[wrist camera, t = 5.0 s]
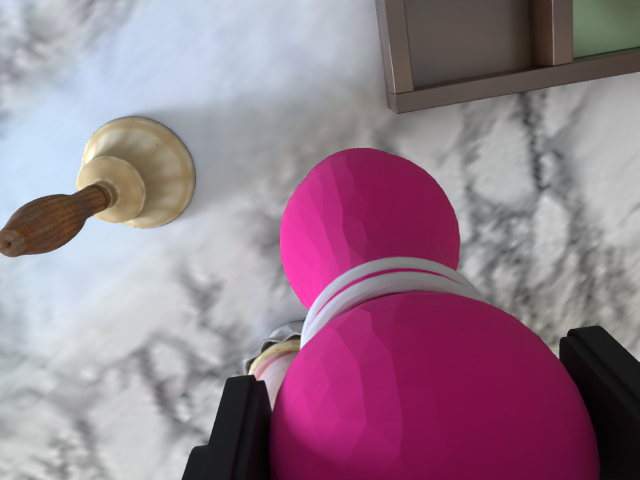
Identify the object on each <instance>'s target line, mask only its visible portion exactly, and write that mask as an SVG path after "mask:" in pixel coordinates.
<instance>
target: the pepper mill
mask: <svg viewBox="0 0 640 480" xmlns="http://www.w3.org/2000/svg"><path fill="white" fill-rule="evenodd" d="M280 245H281V258H282V262H283V266H284V270H285V274H286V276H287V278H288V280H289V283H290V285H291V286H292V288H293V290H294V291H295V293H296V295H297V296H298V298H299V299H300V301H301V302H302V304H303V305H304V306H305V307H306V308H307V309H308V310H309V312H308V315H307V317H306V319H305V322H304V325H303V329H302V334H301V342H300V351H299V353H298V354H297V356H296V357H295V359H294V360H293V362H292V363H291V364H290V366H289V367H288V370H287V372H286V374H285V377H284V379H283V381H282V383H281V386H280V388H279V390H278V393H277V395H276V399H275V403H274V407H273V412H272V416H271V421H270V426H269V460H270V478H271V480H599V475H600V460H599V453H598V447H597V440H596V434H595V431H594V428H593V425H592V422H591V419H590V416H589V413H588V411H587V408H586V406H585V404H584V401H583V399H582V397H581V394H580V392H579V390H578V387H577V386H576V384H575V383H574V381H573V379H572V378H571V376H570V375H569V373H568V372H567V370H566V368H565V367H564V365H563V364H562V362H561V361H560V360H559V359H558V358H557V357H556V356H555V355H554V353H553V352H552V351H551V350H550V349H549V348H548V347H547V345H546V344H545V343H544V342H543V341H542V340H541V339H540V337H539V336H537V335H536V334H535V333H534V332H532V331H531V330H530V329H529V328H527V327H526V326H525V325H524V324H522V323H521V322H520V321H519V320H517V319H516V318H515V317H514V316H512V315H510V314H508V313H506V312H504V311H502V310H500V309H498V308H496V307H494V306H492V305H490V304H488V303H486V302H485V300H484V299H483V297H482V296H481V294H480V293H479V291H478V290H477V289H476V288H475V287H474V285H473V284H471V283H470V282H469V281H468V280H467V279H466V278H465V277H464V276H462V275H461V274H459V273H458V272H456V270H457V266H458V262H459V247H460V235H459V226H458V221H457V218H456V215H455V212H454V209H453V207H452V205H451V203H450V201H449V200H448V198H447V196H446V194H445V193H444V191H443V189H442V188H441V187H440V185H439V184H438V183H437V182H436V180H435V179H434V178H433V177H432V176H431V175H429V174H428V173H427V172H426V171H425V170H424V169H422V168H421V167H419V166H417V165H416V164H414V163H413V162H411V161H409V160H407V159H404V158H402V157H399V156H395V155H392V154H389V153H386V152H384V151H381V150H376V149H372V148H353V149H347V150H343V151H340V152H337V153H335V154H333V155H330V156H329V157H327V158H326V159H324V160H323V161H321V162H320V163H319V164H317V165H316V166H315V167H314V168H313V169H312V171H311V172H310V173H309V174H308V176H307V177H306V178H305V180H304V181H303V182H302V183H301V184H300V185H299V186H298V187H297V189H296V190H295V192H294V194H293V195H292V197H291V198H290V200H289V202H288V205H287V207H286V209H285V211H284V215H283V219H282V223H281V232H280Z"/></svg>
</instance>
